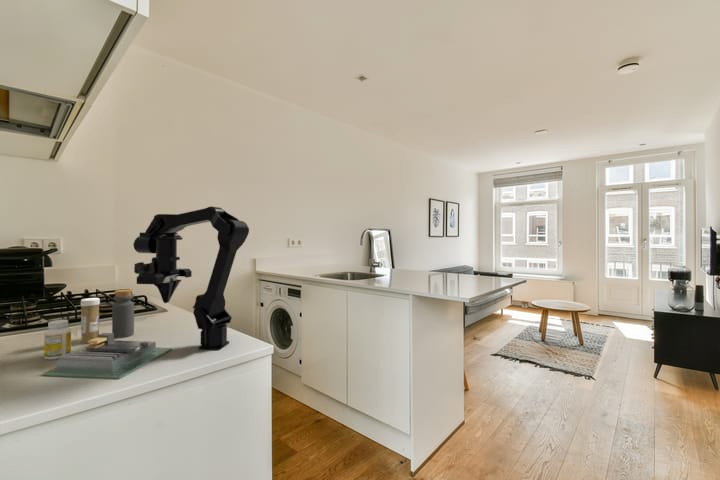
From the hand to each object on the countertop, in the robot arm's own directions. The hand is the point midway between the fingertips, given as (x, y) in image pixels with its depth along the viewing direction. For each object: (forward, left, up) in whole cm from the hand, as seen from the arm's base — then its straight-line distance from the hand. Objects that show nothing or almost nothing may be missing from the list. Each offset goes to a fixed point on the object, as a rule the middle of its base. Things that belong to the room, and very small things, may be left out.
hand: (166, 302), depth 103 cm
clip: (+7, +16, -9) cm, 20 cm away
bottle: (+17, -3, -12) cm, 21 cm away
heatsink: (+2, +18, -12) cm, 22 cm away
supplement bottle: (+20, +16, -12) cm, 28 cm away
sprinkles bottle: (+22, +4, -12) cm, 25 cm away
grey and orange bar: (+2, +18, -9) cm, 20 cm away
